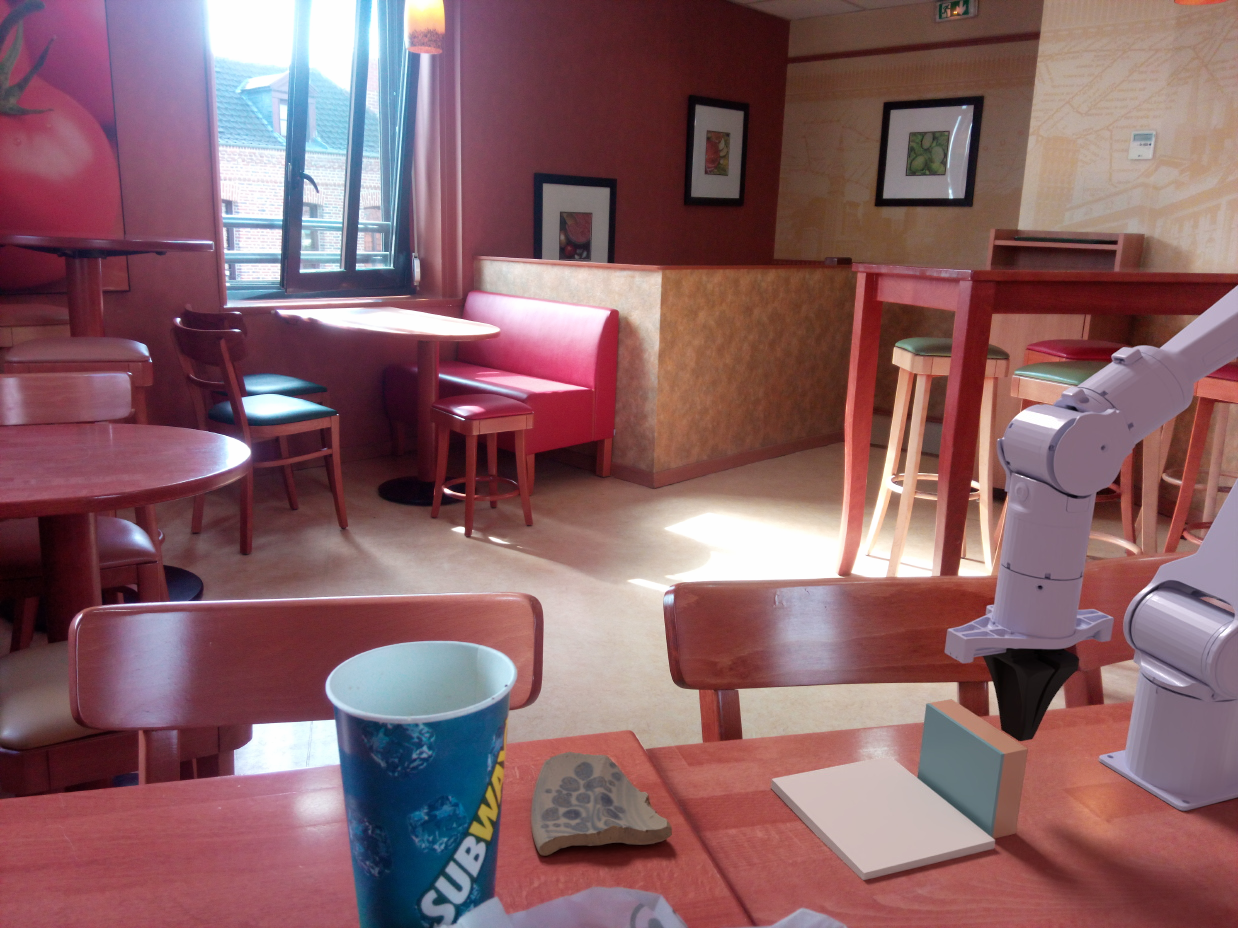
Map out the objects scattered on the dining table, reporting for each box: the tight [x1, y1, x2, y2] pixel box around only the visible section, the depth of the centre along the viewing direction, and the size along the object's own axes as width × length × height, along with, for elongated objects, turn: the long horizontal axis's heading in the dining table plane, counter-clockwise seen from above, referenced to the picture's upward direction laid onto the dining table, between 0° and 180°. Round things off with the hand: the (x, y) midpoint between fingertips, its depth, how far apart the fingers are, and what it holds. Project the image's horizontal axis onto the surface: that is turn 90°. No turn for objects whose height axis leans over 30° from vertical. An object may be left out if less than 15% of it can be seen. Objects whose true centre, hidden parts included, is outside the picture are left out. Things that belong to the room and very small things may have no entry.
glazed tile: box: [916, 698, 1029, 840], centre depth 70 cm, size 2×8×7 cm, turn 21°
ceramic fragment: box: [530, 751, 673, 857], centre depth 68 cm, size 11×3×10 cm
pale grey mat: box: [770, 755, 996, 881], centre depth 69 cm, size 11×12×1 cm
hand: (1016, 733), depth 72 cm, fingers closed
